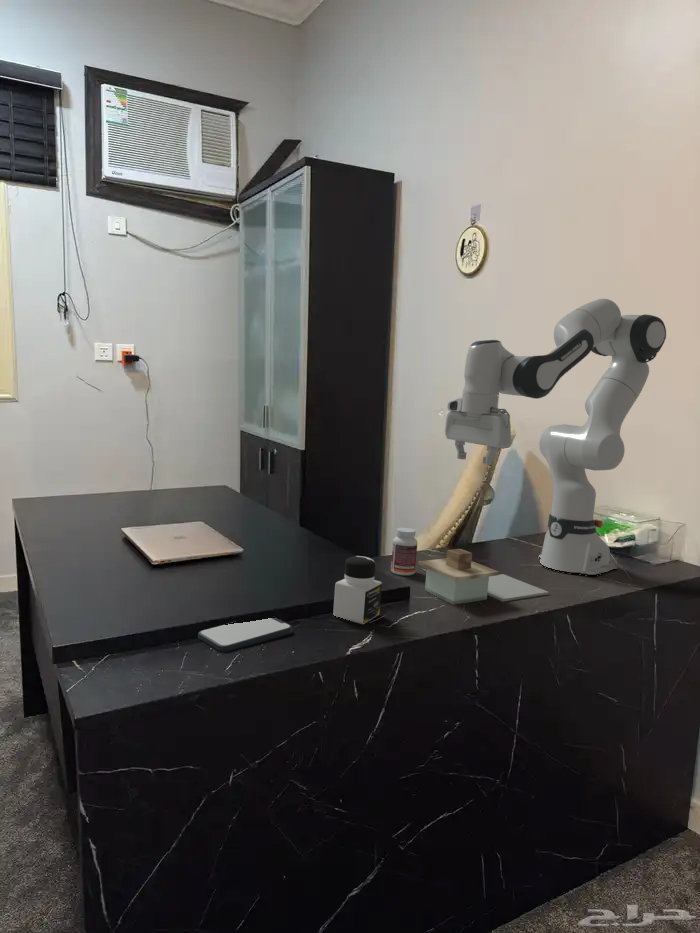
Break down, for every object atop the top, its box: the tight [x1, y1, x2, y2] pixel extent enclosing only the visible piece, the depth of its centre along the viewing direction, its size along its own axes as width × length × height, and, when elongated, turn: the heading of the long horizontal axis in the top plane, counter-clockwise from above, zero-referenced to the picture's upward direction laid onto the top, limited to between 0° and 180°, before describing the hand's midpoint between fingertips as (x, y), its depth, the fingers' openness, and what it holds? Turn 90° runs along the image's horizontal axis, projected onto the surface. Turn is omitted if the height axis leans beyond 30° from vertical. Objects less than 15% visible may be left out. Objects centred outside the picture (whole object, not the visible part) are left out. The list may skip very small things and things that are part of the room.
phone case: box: [197, 617, 293, 653], centre depth 124 cm, size 9×2×16 cm
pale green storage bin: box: [424, 568, 489, 606], centre depth 155 cm, size 10×10×6 cm
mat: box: [487, 573, 549, 603], centre depth 163 cm, size 15×15×1 cm
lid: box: [417, 548, 500, 581], centre depth 154 cm, size 13×13×4 cm
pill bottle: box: [390, 527, 418, 576], centre depth 170 cm, size 6×6×11 cm
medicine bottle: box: [332, 555, 383, 625], centre depth 137 cm, size 7×7×12 cm
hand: (474, 461), depth 168 cm, fingers open, 8 cm apart
